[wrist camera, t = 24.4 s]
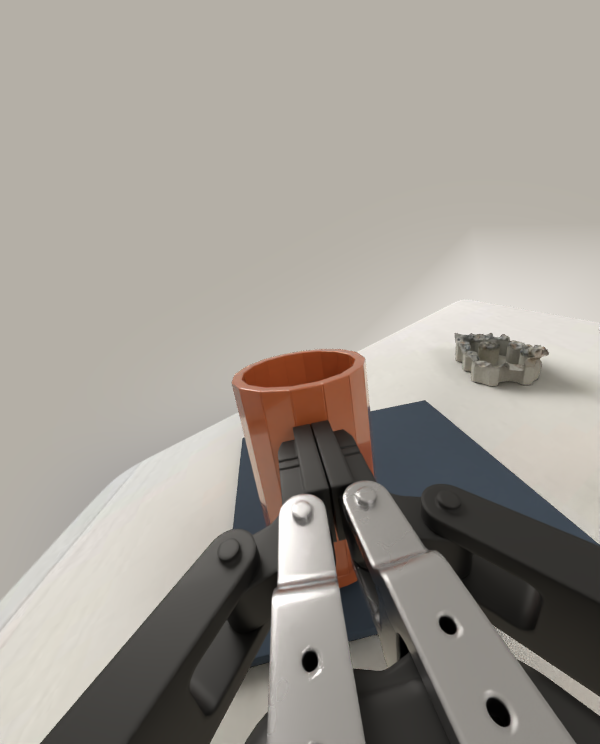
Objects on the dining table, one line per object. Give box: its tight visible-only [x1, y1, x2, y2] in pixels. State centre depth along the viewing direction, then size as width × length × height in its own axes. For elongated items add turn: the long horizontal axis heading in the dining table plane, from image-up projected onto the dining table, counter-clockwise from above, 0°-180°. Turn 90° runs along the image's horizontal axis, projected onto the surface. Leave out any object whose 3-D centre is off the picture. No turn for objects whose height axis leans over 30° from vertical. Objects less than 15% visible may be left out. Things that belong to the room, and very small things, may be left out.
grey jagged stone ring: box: [455, 333, 549, 386], centre depth 35 cm, size 11×8×4 cm
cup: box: [232, 349, 377, 588], centre depth 16 cm, size 7×7×11 cm
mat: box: [233, 400, 600, 667], centre depth 22 cm, size 20×18×1 cm
